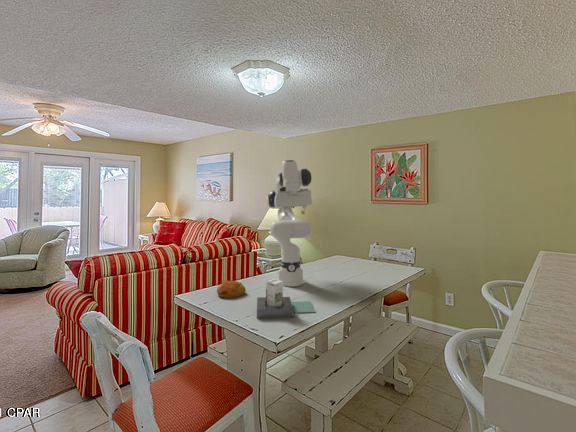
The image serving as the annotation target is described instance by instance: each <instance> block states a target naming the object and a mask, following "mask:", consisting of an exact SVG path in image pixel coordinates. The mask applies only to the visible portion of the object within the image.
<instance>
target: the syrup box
mask: <svg viewBox="0 0 576 432" xmlns="http://www.w3.org/2000/svg"><path fill="white" fill-rule="evenodd" d="M265 284H266V285H265V297H266V306H282V302H283V297H284V296H283V295H284V294H283V293H284V286H283V281H280V280H277V278H273V279H270V280H267V281H266V282H265Z"/></svg>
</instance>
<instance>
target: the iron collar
mask: <svg viewBox="0 0 576 432" xmlns="http://www.w3.org/2000/svg"><path fill="white" fill-rule="evenodd" d="M256 299H257V300H256V320H258V319H259V320H260V319H288V318H289V319H292V318H294V312H293V307H292V304H291V302H292V300H291V297H290V296H283V302H282V306H266V296H265V297H263V296H262V297H257V298H256Z"/></svg>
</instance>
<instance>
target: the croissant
mask: <svg viewBox="0 0 576 432" xmlns="http://www.w3.org/2000/svg"><path fill="white" fill-rule="evenodd" d="M246 291H247V289H246V287H245V286H244V284H243V283H242V282H239V281H237V280H224V281H223V283H220V284H219V285H218V286H217V288H216V293H217V296H218V297H221V298H226V299H228V298H229V299H230V298H231V299H232V298H238V297H240V296H243V295H245V292H246Z"/></svg>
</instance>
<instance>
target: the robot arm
mask: <svg viewBox="0 0 576 432" xmlns="http://www.w3.org/2000/svg"><path fill="white" fill-rule="evenodd" d="M277 176H278V177H277V178H276V180H275V183H274V188H275V190H274V189H272V190H271V191H270V192H269V193H268V194H267V197H266V201H267V202H266V203H267V205H268V207H270V208H273V209H274V208H276V209H278V210H277V219H278V220H275V221H273V222H272V223H271V224H270V227H269V233H270V235H271V236H272V237H273V238H274V239H275V240H277V242H278V243H279V245H280V248H281V250H280V251H281V261H280V268H279V270H278V271H277V277H276V279H277V280H280V281H283V287H299V286H301V285H304V284H306V283H307V282H306V281H305V280H304V271H303V269H302V268H301V258H300V257H301V249H300V247H299V246H298V245H297V244H295V243H293V242H291V239H305V238H309V237H310V236H311V235H312V233H313V226H312V224H311V223H310V222H309V221H308V220H303V219H301V218H300V217H297V216H296V215H295V213H294V211H293V209H294V208H295V207H302V208H303V209H302V210H301V211H300V213H301V215H305V214H306V209H307V207H310V206H312V204H313V198H312V192H311V189H309V188H301V187H308V186H309V185H310V184H311V183H312V173H311V171H310V170H309V169H308V168H305V167H304V168H300V169H299V168H298V163H297V161H296V160H294V159H291V160H290V159H287V160H283V161H282V163H281V171H279V172H278V175H277Z"/></svg>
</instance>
